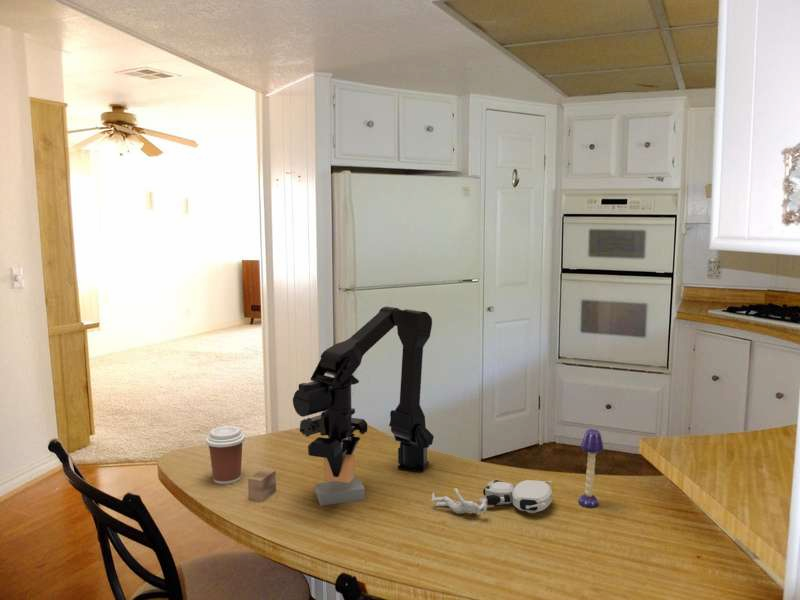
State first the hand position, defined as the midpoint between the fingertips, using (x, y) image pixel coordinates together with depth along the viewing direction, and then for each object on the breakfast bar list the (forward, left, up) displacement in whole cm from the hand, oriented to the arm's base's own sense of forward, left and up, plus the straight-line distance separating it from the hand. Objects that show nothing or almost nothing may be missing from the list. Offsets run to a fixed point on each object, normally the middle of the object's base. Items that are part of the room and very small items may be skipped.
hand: (339, 473), depth 142 cm
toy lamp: (-53, -15, -6) cm, 55 cm away
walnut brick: (+17, +5, -6) cm, 19 cm away
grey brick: (0, 0, -6) cm, 6 cm away
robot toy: (-38, -10, -6) cm, 40 cm away
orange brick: (0, 0, -1) cm, 1 cm away
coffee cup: (+30, 0, -6) cm, 31 cm away
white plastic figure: (-27, -2, -6) cm, 28 cm away
